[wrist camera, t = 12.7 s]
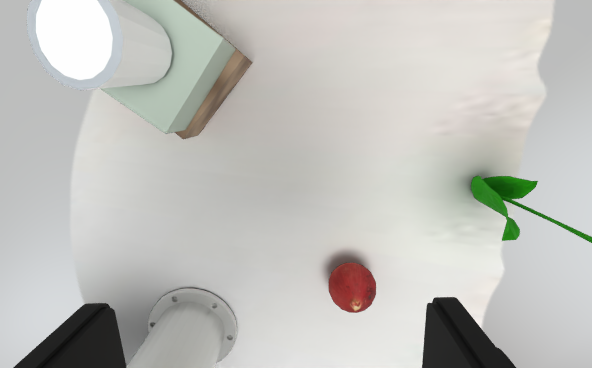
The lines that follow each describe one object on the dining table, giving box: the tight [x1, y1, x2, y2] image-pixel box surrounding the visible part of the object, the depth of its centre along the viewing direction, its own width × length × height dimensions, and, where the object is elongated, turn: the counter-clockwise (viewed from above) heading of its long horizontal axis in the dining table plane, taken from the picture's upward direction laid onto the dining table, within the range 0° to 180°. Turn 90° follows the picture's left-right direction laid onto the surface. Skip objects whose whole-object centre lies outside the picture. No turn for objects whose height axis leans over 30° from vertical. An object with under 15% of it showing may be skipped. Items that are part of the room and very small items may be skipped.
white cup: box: [27, 0, 172, 90], centre depth 23 cm, size 7×7×7 cm
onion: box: [329, 263, 376, 313], centre depth 38 cm, size 6×6×8 cm
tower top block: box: [101, 0, 236, 134], centre depth 29 cm, size 10×10×5 cm
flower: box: [471, 176, 592, 243], centre depth 24 cm, size 9×8×30 cm
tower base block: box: [174, 0, 252, 139], centre depth 34 cm, size 11×11×5 cm
